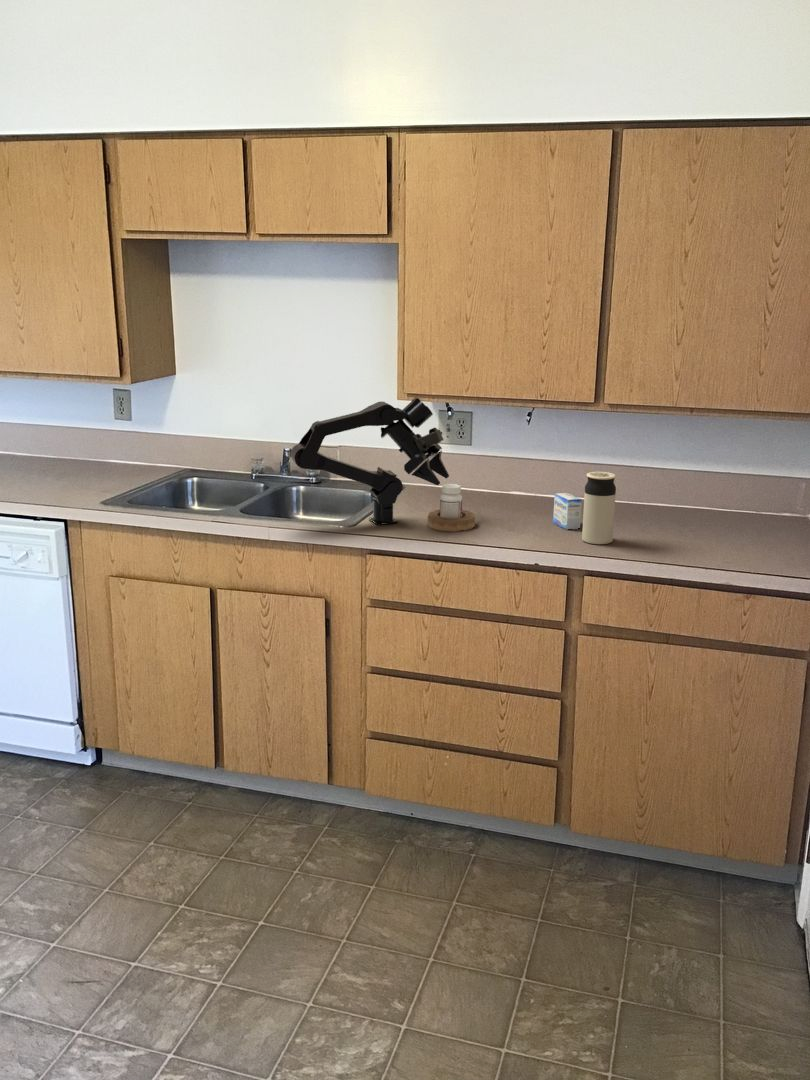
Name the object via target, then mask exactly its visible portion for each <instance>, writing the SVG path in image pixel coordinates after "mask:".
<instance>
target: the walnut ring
mask: <svg viewBox="0 0 810 1080" xmlns="http://www.w3.org/2000/svg"><path fill="white" fill-rule="evenodd" d="M475 523H476V513H474V512H472V511H471V510H467V509H462V518H443V517H440V509H434V510H432V511H429V512H428V514H427V526H428V527H429V528H431V529H432V528H433V529H432V530H438V531H442V532H460V530H464V531H469V530H471V529H473V527H474V528H475V527H476V526H475V525H476V524H475ZM470 528H471V529H470ZM468 529H469V530H468Z"/></svg>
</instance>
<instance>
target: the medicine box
mask: <svg viewBox="0 0 810 1080" xmlns="http://www.w3.org/2000/svg"><path fill="white" fill-rule="evenodd" d="M553 501H554V503H553V514H552V515H553V516H552V518H553V519H552V523H553V524H554V523H555V524H554V525H556V524H557V525H556V526H557V527H560V526H561V527H560V528H562V529H564V530H566V529H573V530H579V529H578V528H580V529H581V518H582V503H583V501H582V499H581V498H580V497H577V496H575V495H572V494H571V493H568V492H561V493H555V494H554V500H553Z"/></svg>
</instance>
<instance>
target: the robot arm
mask: <svg viewBox="0 0 810 1080" xmlns="http://www.w3.org/2000/svg"><path fill="white" fill-rule="evenodd" d="M433 415H434V414H433V412H432V410H431V409H430V408H429V407H428V406H427V405H426V404H425V403H423V401H421V400H420V398H419V397H416V396H415V397H414V398H413V399H412V400H411V402H409V403H408V404H407V405H406V406H405V407H404V408H403V409H401V408H399V407H394V406H393V405H391V404H389V403H387V402H385V401H377V402H374V403H373V404H371V405H368V406H367V407H364V408H363V409H362V410H359V411H357V412H352V413H348V414H343V415H340V416H336V417H333V418H329V419H324V420H320V421H319V420H317V421H314V422H313V423H312V424H311V426H310V427H309V429H308V430H307V431H306V433H305V434H304V436H302V438H300V441H299V442H298V443H297V444H296V445H294V446H293V447H292V448H291V450H290V458H291V460H292V462H294V464H295V465H296V466H297V467H299V468H300V469H303V470H309V471H310V470H312V471H324V472H327V473H330V474H334V475H336V476H339V477H343V478H345V479H349V480H352V481H355V482H358V483H361V484H363V485H367V486H370V487H371V489H370V490H369V494H370V496H371V498H372V515H373V516H372V517H368V520H369V519H370V518H371V519H370V520H372V521H374V522H375V523H377V524H381V525H383V524H382V523H390V524H394V523H393V522H399V520H397V519H396V518H395V517H394V504H395V503H396V501H397V499H398V496H399V495H400V494H401V493H402V492H403V483H402V480H401V479H400V478H398V477H397V474H395V472H393V470H389V469H388V470H386V469H383V468H382V467H379V466H378V467H377V468H376V470H368V469H366V468H362V467H360V466H356V465H354V464H350V463H348V462H344V461H342V460H338V459H335V458H332V457H329V456H326V455H324V454H322V453H321V452H319V451H320V449H321V446H322V443H323V441H324V439H325V438H326V437H327V436H330V435H334V434H338V433H342V432H346V431H347V432H348V431H351V430H354V429H358V428H359V429H360V428H362V427H378V426H381V427H380V432H381V433H380V437H381V439H384V438H385V437H387V435H388V436H389V437H390V439H391V441H392V440H393V442H394V443H395V444H396V445H397V446H398V448H399V449H398V451H399V452H400V453H404V454H405V455H406V456H407V458H408V459H409V460H408V461H407V462H406V463H405V464H404V465H403V469H404V472H406V474H407V475H410V474H411V476H414V477H416V478H420V479H421V480H424V481H426V482H429V483H430V484H432V485H435V486H440V484H441V482H440V480H439V478H438V477H437V475H436V474H438V476H439V475H440V476H441V477H443V478H444V479H448V478H450V474H449V472H448V470H447V468H446V467H445V464H444V462H443V460H442V453H443V450H442V449H443V448H442V446H441V445H440V443H441V442H442V441H444V437H443V432H442V431H441V429H438V428H437V427H432V428H430V429H429V430H428V434H425V435H423V436H422V435H421V434H420V433H417V434H416V433H415V432H414V431H413V430H412V429H413V428H417V429H419V428H420V427H421V426H422V425H423V424H425V422H427V421H428V419H430V418H431V417H432V416H433ZM382 426H383V427H382ZM410 427H411V428H412V429H411V428H410ZM435 473H436V474H435ZM370 520H369V521H370ZM372 521H371V522H372ZM375 523H374V524H375ZM377 524H376V525H377Z"/></svg>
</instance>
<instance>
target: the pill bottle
mask: <svg viewBox="0 0 810 1080" xmlns="http://www.w3.org/2000/svg"><path fill="white" fill-rule="evenodd" d="M441 487H442V488H441V492H442V493H441V495H440V499H439V503H440V504H439V510H440V517H443V518H462V510H463V496H462V494H461V492H462V491H461V488H462V487H461V485H460V484H457V483H445V484H442V486H441Z"/></svg>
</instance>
